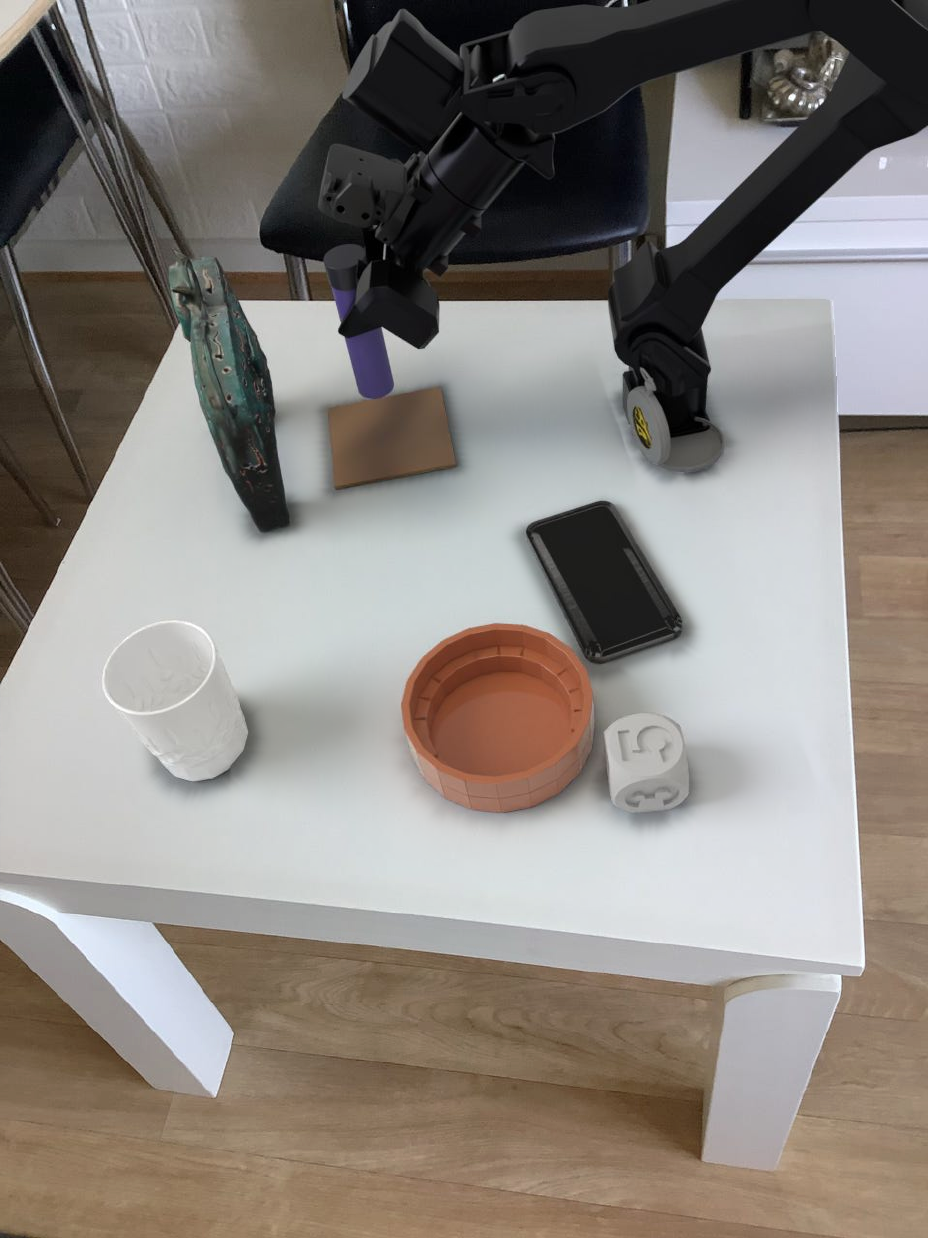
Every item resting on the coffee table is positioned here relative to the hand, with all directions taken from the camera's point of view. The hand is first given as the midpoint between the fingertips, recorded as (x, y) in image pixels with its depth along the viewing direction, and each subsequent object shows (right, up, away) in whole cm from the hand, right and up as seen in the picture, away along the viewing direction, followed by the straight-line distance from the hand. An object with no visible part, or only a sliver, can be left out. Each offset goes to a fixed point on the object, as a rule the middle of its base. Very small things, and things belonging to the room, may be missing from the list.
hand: (344, 321), depth 87 cm
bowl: (+13, -33, -11) cm, 37 cm away
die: (+22, -36, -14) cm, 45 cm away
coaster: (+3, -8, +11) cm, 14 cm away
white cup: (-9, -34, -8) cm, 36 cm away
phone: (+21, -22, -3) cm, 30 cm away
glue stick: (+2, -4, +5) cm, 7 cm away
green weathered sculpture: (-9, -10, +11) cm, 17 cm away
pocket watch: (+28, -10, +5) cm, 30 cm away
